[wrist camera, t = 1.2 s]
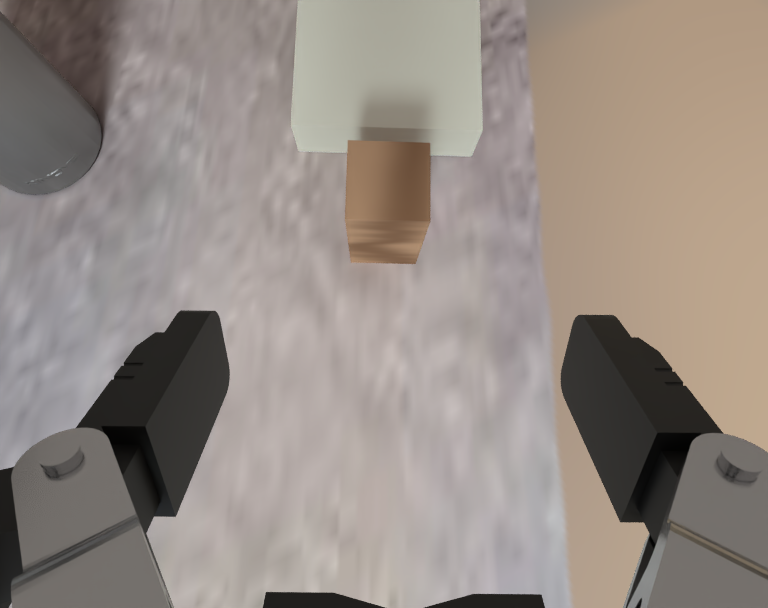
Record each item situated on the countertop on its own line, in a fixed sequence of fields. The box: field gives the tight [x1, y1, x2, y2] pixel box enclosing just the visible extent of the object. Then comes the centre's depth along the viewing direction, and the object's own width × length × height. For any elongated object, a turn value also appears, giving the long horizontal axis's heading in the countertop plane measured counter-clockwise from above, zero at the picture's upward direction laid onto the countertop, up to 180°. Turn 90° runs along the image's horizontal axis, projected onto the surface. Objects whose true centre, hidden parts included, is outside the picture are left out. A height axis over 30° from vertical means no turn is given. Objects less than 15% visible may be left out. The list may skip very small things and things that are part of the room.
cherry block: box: [345, 140, 430, 264], centre depth 34 cm, size 5×5×10 cm
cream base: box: [291, 0, 483, 157], centre depth 39 cm, size 14×14×4 cm
